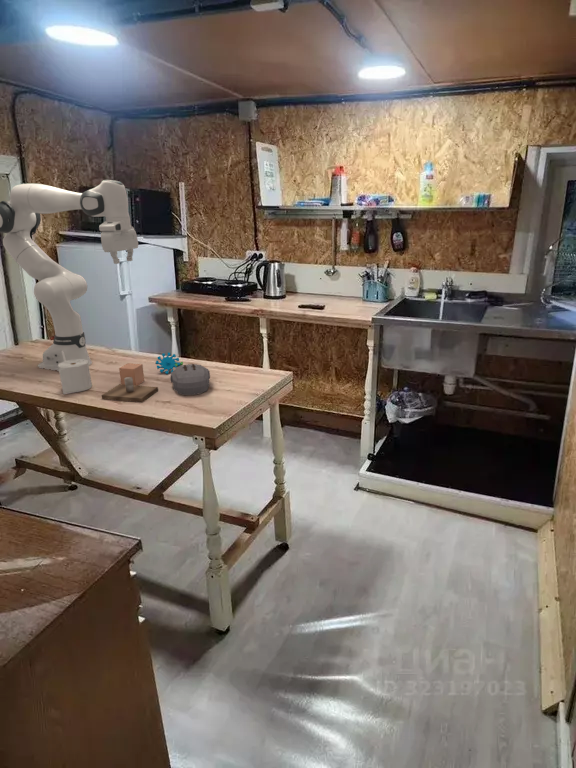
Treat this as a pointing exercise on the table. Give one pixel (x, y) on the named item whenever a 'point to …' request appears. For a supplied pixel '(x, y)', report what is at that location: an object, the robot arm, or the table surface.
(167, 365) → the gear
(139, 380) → the salmon orange block
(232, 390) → the table surface
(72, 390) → the toilet tissue
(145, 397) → the stub plate
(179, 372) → the small grey backpack
